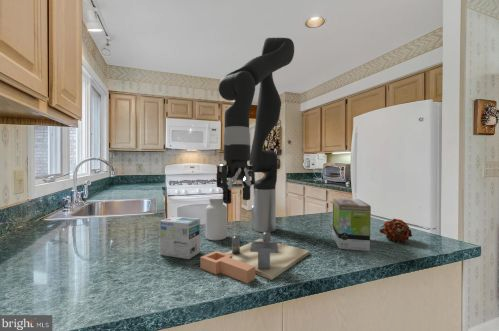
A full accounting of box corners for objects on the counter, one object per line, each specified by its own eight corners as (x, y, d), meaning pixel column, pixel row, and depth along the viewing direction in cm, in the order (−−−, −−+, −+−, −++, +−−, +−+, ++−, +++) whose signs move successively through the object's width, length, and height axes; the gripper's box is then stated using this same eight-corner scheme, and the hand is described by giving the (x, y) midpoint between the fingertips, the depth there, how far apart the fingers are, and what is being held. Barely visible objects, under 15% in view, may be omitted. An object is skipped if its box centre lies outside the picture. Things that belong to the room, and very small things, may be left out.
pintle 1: (230, 253, 73) (230, 236, 73) (235, 251, 75) (235, 234, 75) (236, 255, 72) (236, 238, 71) (241, 252, 73) (241, 236, 73)
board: (216, 260, 71) (216, 256, 71) (259, 241, 87) (259, 238, 87) (271, 279, 59) (271, 275, 59) (309, 254, 75) (309, 250, 75)
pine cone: (406, 251, 81) (384, 244, 93) (424, 235, 82) (401, 231, 94) (389, 230, 82) (370, 226, 94) (408, 215, 83) (387, 213, 95)
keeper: (252, 260, 68) (252, 241, 68) (277, 261, 67) (277, 242, 67) (250, 268, 62) (250, 247, 62) (277, 270, 62) (277, 249, 62)
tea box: (371, 251, 77) (371, 205, 77) (337, 249, 79) (338, 204, 79) (359, 237, 92) (360, 198, 92) (331, 235, 94) (332, 197, 94)
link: (200, 268, 65) (200, 257, 65) (216, 261, 70) (216, 250, 70) (243, 286, 56) (243, 273, 56) (258, 276, 60) (258, 264, 60)
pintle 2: (261, 248, 77) (261, 232, 77) (265, 246, 79) (265, 231, 79) (267, 250, 75) (267, 234, 75) (271, 248, 77) (271, 232, 77)
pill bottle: (230, 235, 94) (230, 197, 93) (219, 242, 86) (219, 200, 86) (213, 233, 97) (213, 195, 97) (201, 239, 90) (201, 198, 89)
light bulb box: (201, 251, 77) (201, 218, 77) (189, 260, 71) (189, 223, 71) (172, 248, 81) (172, 215, 80) (159, 255, 74) (158, 220, 74)
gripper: (241, 146, 77) (242, 198, 77) (209, 143, 65) (209, 203, 65) (261, 145, 72) (262, 199, 72) (230, 141, 61) (231, 206, 61)
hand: (237, 201), depth 69 cm, fingers open, 8 cm apart
